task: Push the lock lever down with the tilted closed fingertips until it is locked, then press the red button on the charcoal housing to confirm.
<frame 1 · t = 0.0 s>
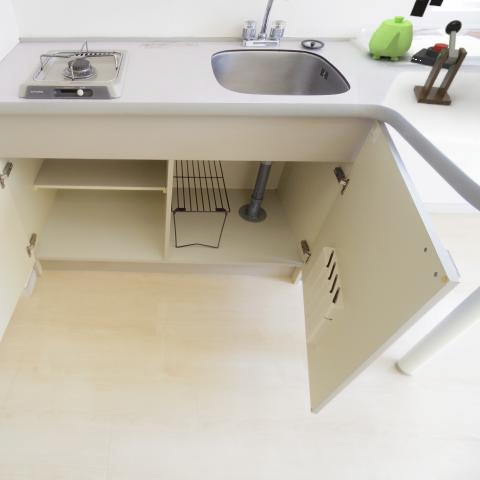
hand: (425, 10, 89), 21 cm above the worktop, tool pointing down, fingers open, 13 cm apart
confirm button: (440, 47, 119), point 4 cm above the worktop, slide at 0.1 cm
button box: (433, 61, 122), on the worktop
brown wooden stand: (430, 97, 102), on the worktop
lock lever: (452, 41, 96), point 13 cm above the worktop, hinge at 25.0°
teapot: (384, 56, 128), on the worktop
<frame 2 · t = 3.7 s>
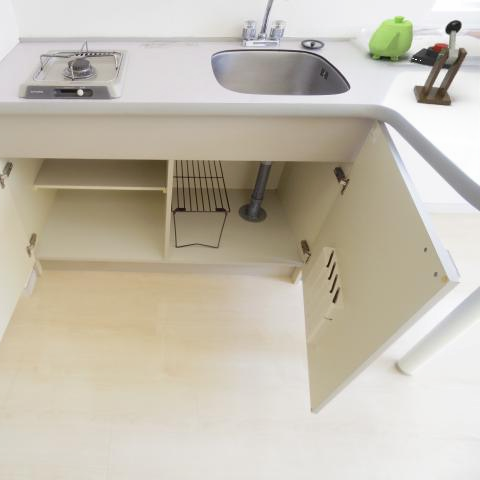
nothing on the worktop moved.
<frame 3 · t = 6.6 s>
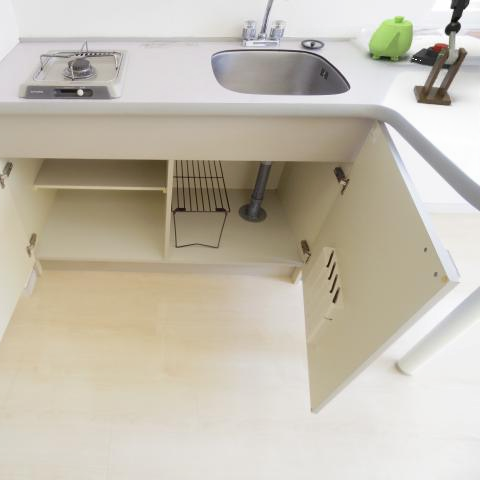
hand: (455, 19, 97), 17 cm above the worktop, tool tilted 45°, fingers closed
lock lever: (452, 42, 96), point 13 cm above the worktop, hinge at 23.3°, touching gripper
everything else where it was.
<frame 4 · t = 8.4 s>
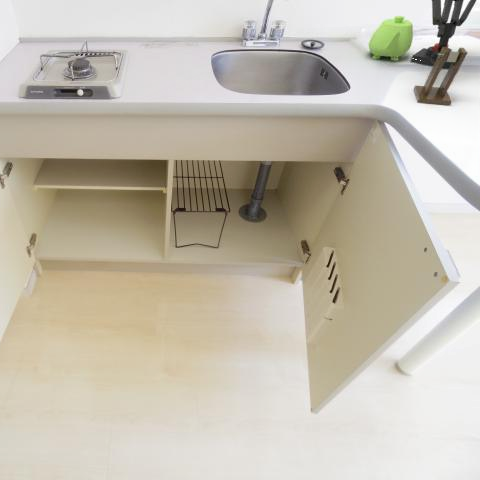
hand: (442, 47, 102), 10 cm above the worktop, tool tilted 45°, fingers closed
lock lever: (444, 57, 99), point 9 cm above the worktop, hinge at -17.3°, touching gripper
everything else where it was.
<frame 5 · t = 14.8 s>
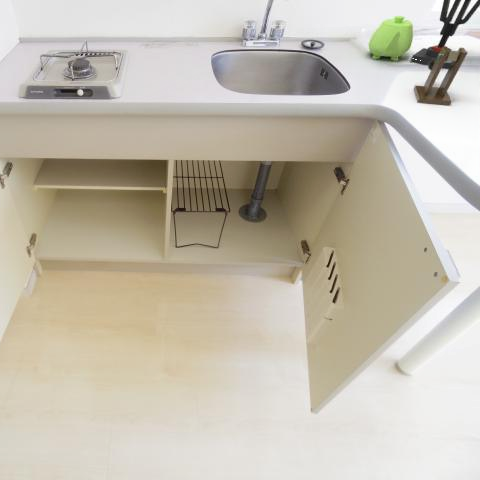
hand: (441, 46, 118), 5 cm above the worktop, tool pointing down, fingers closed
confirm button: (439, 49, 119), point 4 cm above the worktop, slide at -0.6 cm, touching gripper
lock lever: (442, 60, 99), point 8 cm above the worktop, hinge at -27.2°
everything else where it was.
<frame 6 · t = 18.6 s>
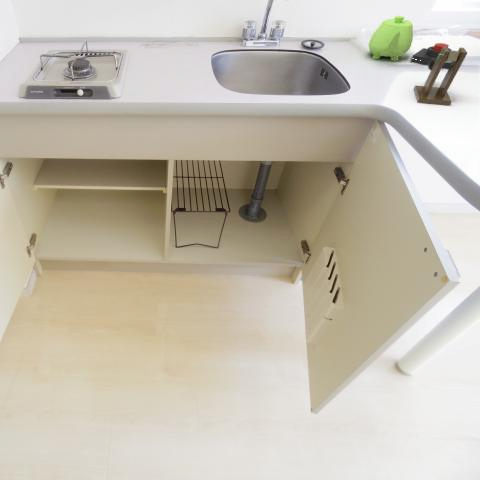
confirm button: (440, 47, 119), point 4 cm above the worktop, slide at 0.1 cm
everything else where it was.
at the end: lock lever at -27° (first picture: +25°); confirm button pushed in 1.0 cm at the most during the clip, back to where it started at the end; confirm button slide at 0.1 cm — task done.
